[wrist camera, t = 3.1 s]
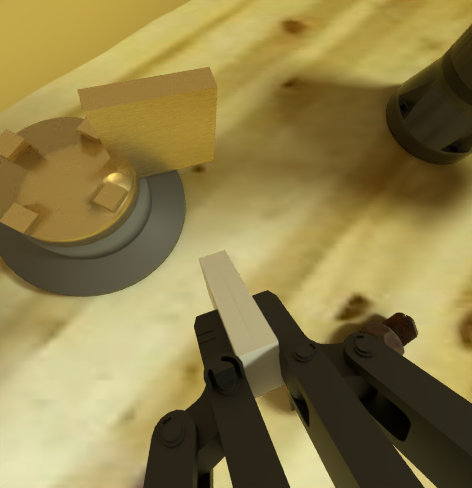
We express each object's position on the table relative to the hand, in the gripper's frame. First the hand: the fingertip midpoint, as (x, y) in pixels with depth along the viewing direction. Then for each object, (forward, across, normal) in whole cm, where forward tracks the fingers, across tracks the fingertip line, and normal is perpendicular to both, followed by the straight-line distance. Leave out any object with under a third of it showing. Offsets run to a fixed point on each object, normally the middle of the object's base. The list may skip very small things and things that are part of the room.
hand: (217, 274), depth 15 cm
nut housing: (+23, -10, -2) cm, 25 cm away
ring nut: (+19, -6, +2) cm, 20 cm away
